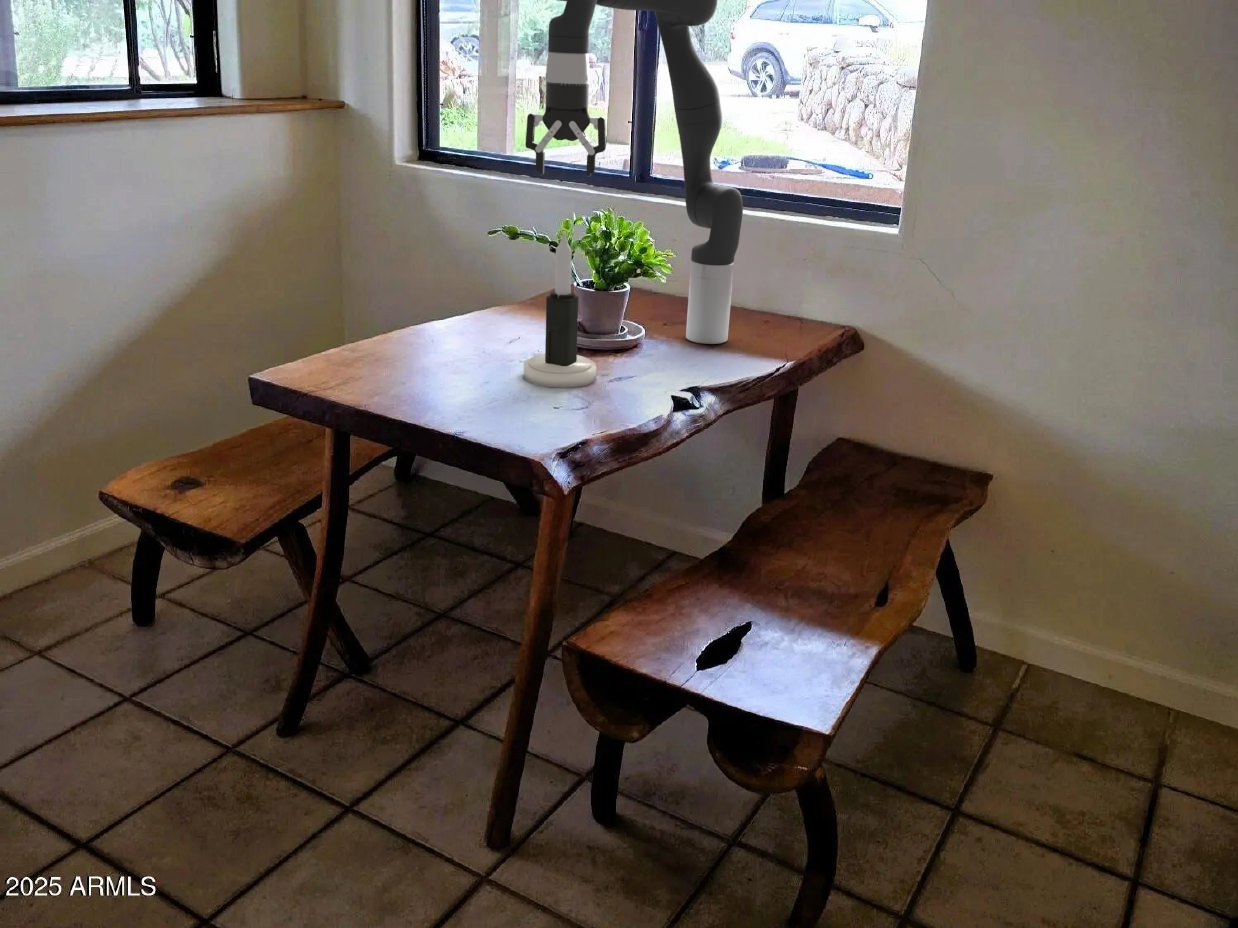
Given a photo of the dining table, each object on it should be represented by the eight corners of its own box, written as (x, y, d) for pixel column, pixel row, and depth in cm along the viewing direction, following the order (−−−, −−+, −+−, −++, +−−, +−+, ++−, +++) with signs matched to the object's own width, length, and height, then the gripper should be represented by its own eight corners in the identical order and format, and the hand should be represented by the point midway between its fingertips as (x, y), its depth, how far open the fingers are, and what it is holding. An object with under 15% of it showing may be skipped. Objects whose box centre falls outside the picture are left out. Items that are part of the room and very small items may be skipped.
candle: (578, 360, 217) (582, 230, 208) (566, 367, 213) (570, 234, 204) (555, 356, 219) (558, 227, 210) (542, 362, 215) (545, 231, 206)
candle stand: (528, 364, 224) (528, 349, 223) (598, 368, 223) (599, 353, 222) (518, 385, 211) (519, 370, 210) (593, 389, 210) (593, 374, 209)
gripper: (609, 81, 200) (605, 174, 206) (529, 77, 201) (528, 170, 207) (606, 83, 194) (602, 180, 199) (524, 79, 194) (523, 175, 200)
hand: (565, 175), depth 203 cm, fingers open, 8 cm apart
